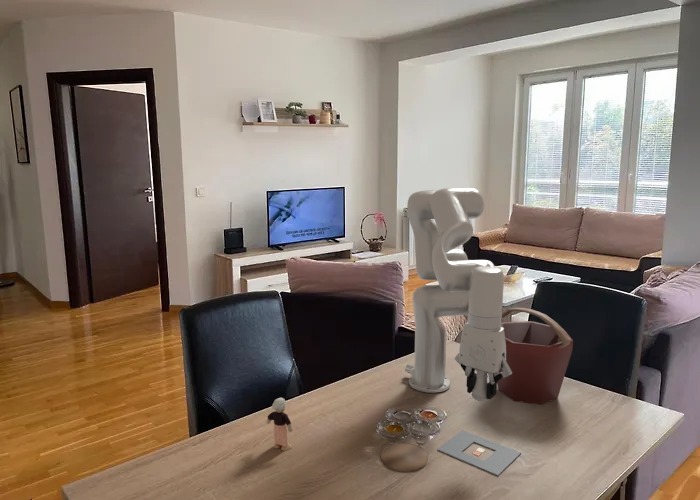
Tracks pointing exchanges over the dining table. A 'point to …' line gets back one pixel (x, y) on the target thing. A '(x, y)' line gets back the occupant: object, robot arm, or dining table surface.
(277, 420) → the grandmother figurine
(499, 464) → the grey frame plate
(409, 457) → the walnut coaster
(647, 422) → the dining table surface
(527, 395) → the bucket
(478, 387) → the rook chess piece
